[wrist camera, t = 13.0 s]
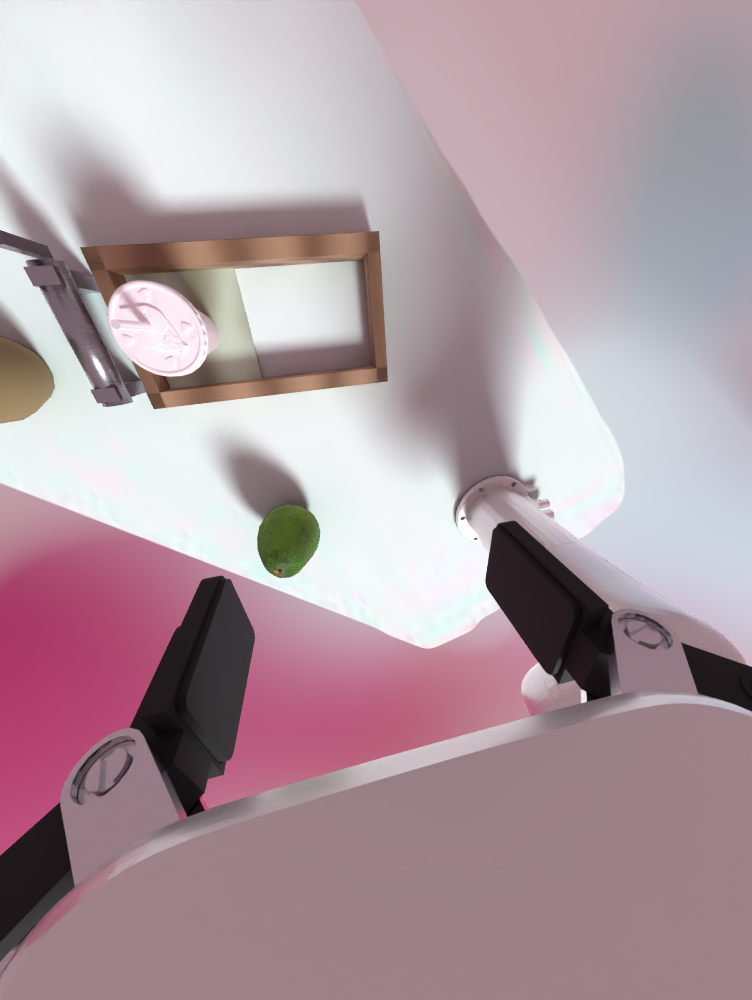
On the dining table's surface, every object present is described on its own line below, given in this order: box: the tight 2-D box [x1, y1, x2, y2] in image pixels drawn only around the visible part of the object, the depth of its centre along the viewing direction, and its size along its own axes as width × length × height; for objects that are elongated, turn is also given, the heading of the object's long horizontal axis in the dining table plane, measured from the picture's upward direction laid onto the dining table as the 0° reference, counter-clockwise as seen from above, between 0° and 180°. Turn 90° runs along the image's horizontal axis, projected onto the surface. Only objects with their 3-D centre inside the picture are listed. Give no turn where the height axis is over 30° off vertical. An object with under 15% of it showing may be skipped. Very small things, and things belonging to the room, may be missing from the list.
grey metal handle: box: [0, 230, 146, 407], centre depth 26 cm, size 2×12×8 cm, turn 5°
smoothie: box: [107, 280, 220, 376], centre depth 24 cm, size 6×6×14 cm
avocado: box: [257, 504, 320, 578], centre depth 38 cm, size 8×8×12 cm
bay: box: [80, 231, 388, 409], centre depth 30 cm, size 25×13×3 cm, turn 95°
